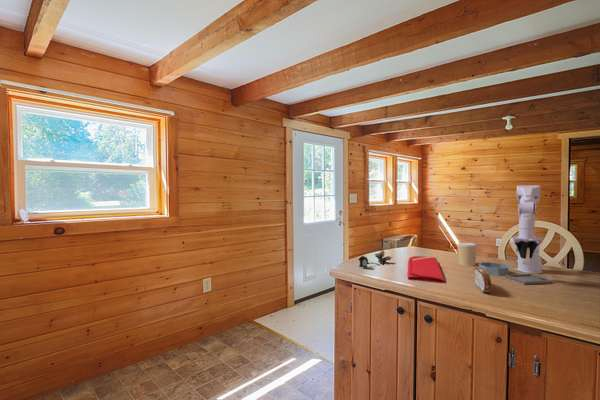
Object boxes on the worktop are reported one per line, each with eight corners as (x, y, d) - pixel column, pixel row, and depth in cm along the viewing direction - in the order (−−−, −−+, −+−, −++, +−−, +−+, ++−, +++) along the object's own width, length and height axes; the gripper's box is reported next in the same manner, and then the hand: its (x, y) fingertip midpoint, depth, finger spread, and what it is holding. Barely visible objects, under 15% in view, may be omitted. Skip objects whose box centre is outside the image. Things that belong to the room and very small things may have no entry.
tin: (492, 295, 120) (492, 274, 120) (483, 295, 121) (483, 274, 121) (481, 284, 134) (481, 265, 134) (473, 283, 135) (473, 265, 135)
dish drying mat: (407, 280, 142) (407, 272, 141) (408, 261, 180) (408, 255, 180) (444, 284, 136) (444, 276, 136) (437, 263, 175) (437, 257, 175)
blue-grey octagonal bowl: (495, 269, 159) (495, 261, 159) (514, 276, 147) (515, 267, 147) (473, 270, 158) (473, 262, 157) (491, 277, 145) (491, 268, 145)
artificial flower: (355, 269, 166) (353, 250, 169) (384, 268, 178) (382, 251, 181) (367, 268, 159) (365, 249, 162) (396, 267, 171) (393, 249, 173)
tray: (530, 277, 145) (530, 273, 145) (551, 284, 134) (551, 280, 134) (505, 278, 144) (505, 274, 144) (524, 285, 133) (524, 281, 133)
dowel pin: (526, 263, 141) (526, 247, 140) (530, 264, 138) (531, 248, 138) (521, 263, 140) (521, 247, 140) (525, 264, 138) (526, 248, 138)
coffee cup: (471, 263, 172) (472, 242, 171) (480, 267, 163) (480, 245, 162) (454, 263, 173) (454, 242, 172) (461, 267, 164) (461, 245, 163)
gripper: (519, 229, 134) (518, 260, 134) (549, 229, 136) (548, 259, 136) (506, 227, 141) (506, 256, 141) (535, 227, 143) (534, 256, 143)
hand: (526, 257), depth 139 cm, fingers closed on dowel pin, 2 cm apart
